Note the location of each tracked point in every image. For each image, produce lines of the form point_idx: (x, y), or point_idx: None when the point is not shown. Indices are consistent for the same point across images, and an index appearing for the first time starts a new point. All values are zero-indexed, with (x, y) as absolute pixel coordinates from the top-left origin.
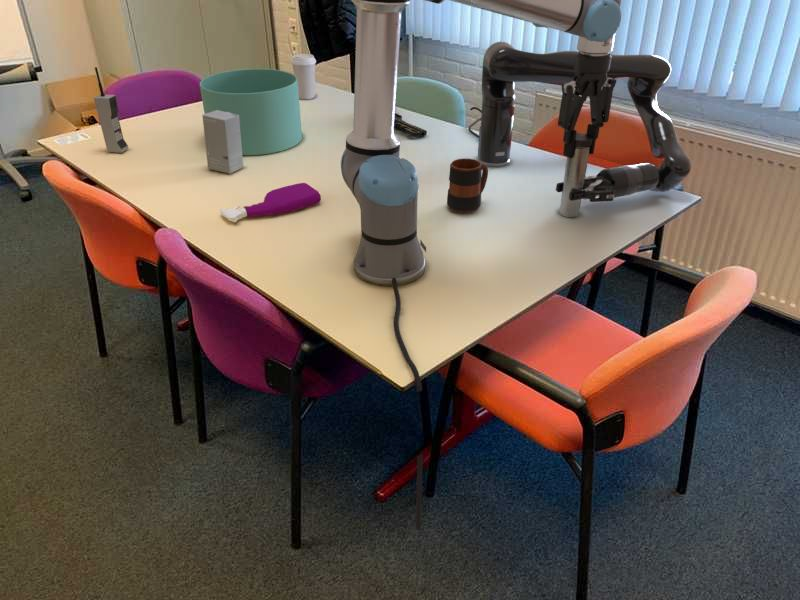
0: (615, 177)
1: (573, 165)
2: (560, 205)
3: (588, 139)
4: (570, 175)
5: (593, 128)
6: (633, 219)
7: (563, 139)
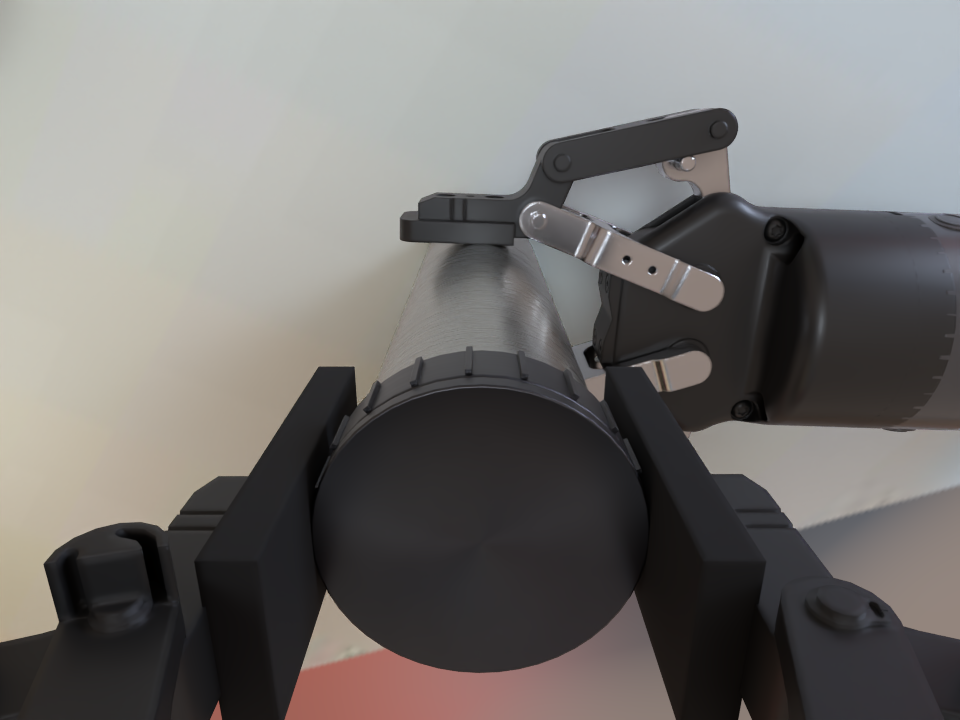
0: (793, 418)
1: None
2: (424, 257)
3: (507, 652)
4: None
5: (676, 676)
6: (735, 460)
7: (191, 505)
